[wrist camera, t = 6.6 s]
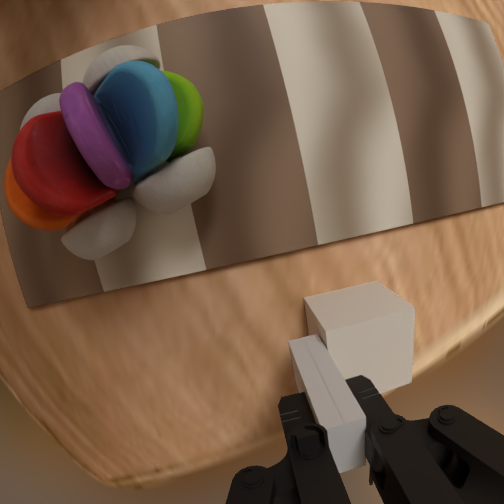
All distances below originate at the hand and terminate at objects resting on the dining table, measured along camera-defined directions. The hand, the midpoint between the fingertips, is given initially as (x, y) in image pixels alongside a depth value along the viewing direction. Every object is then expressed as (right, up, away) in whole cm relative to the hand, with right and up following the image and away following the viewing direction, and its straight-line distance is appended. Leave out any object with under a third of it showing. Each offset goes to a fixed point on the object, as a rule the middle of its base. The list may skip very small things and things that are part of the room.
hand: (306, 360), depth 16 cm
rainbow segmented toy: (-10, +11, 0) cm, 14 cm away
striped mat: (-1, +12, 0) cm, 13 cm away
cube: (+3, +1, +3) cm, 4 cm away
